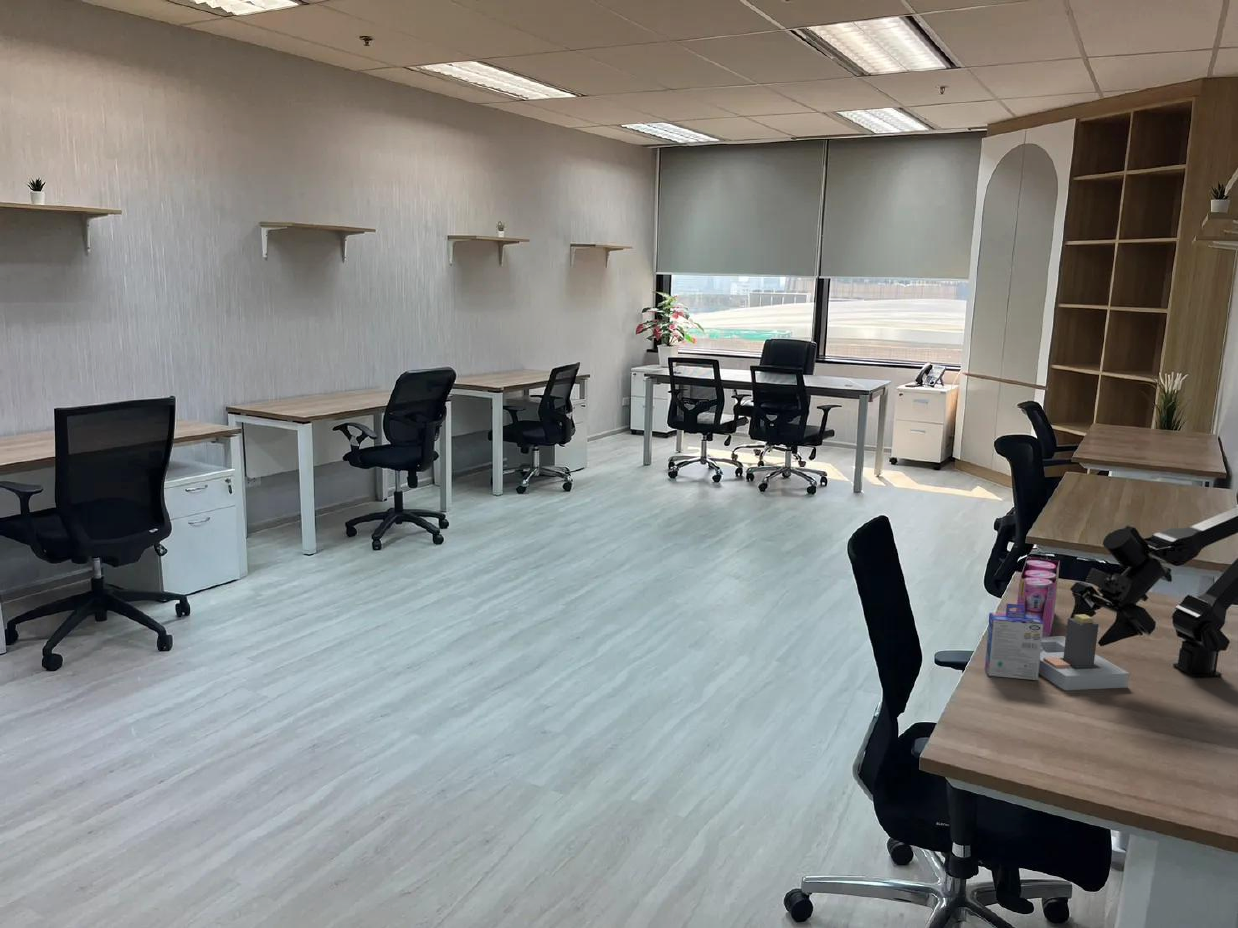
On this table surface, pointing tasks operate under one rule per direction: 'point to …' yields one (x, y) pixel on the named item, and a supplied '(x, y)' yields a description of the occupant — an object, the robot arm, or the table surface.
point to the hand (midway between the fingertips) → (1083, 636)
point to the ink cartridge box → (1014, 644)
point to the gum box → (1039, 590)
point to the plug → (1080, 642)
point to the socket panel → (1077, 679)
